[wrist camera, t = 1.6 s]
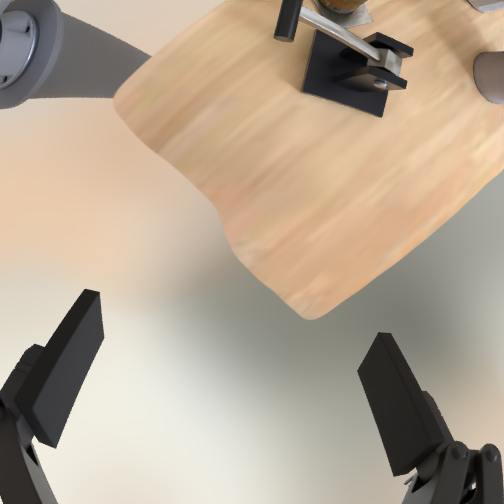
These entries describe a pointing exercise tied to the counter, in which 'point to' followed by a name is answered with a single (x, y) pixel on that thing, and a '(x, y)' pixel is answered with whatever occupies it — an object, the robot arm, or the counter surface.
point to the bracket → (351, 73)
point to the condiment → (344, 12)
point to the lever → (332, 35)
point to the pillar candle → (490, 76)
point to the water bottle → (487, 5)
